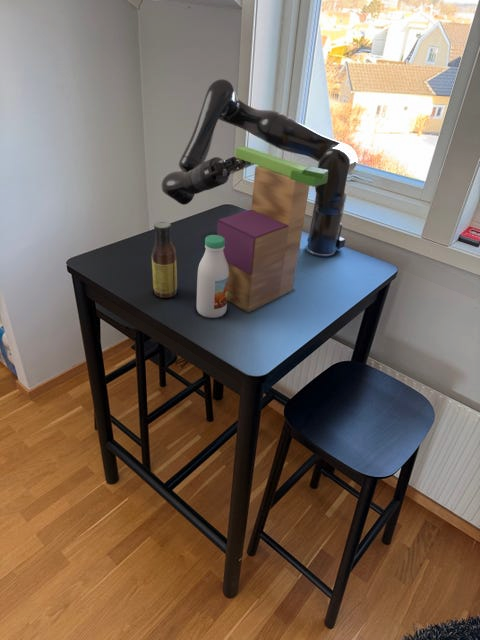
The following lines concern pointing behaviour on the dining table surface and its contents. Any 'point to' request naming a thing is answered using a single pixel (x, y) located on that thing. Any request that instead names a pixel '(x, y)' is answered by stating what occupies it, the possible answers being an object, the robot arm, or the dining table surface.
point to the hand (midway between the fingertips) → (247, 158)
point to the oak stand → (271, 241)
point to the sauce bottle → (164, 261)
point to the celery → (284, 166)
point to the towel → (244, 236)
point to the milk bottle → (213, 279)
